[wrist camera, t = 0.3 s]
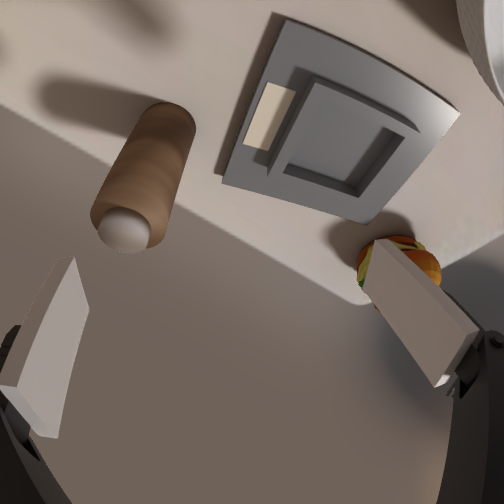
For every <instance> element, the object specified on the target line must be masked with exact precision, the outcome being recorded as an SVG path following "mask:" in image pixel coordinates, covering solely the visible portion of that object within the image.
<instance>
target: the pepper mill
mask: <svg viewBox="0 0 504 504" xmlns="http://www.w3.org/2000/svg"><path fill="white" fill-rule="evenodd" d="M195 133H196V125H195V121H194V119H193V117H192V116H191V114H190V113H189V112H188V111H187V110H186V109H184V108H183V107H181V106H179V105H176V104H173V103H158V104H155V105H153V106H151V107H149V108H148V109H147V110H146V111H145V112H144V113H143V115H142V116H141V118H140V120H139V121H138V123H137V125H136V126H135V128H134V129H133V131H132V133H131V134H130V136H129V138H128V139H127V141H126V143H125V145H124V146H123V148H122V150H121V152H120V153H119V155H118V157H117V159H116V161H115V162H114V164H113V166H112V168H111V170H110V172H109V174H108V176H107V177H106V180H105V181H104V183H103V185H102V187H101V189H100V191H99V193H98V195H97V198H96V200H95V201H94V204H93V206H92V208H91V211H90V217H91V221H92V223H93V225H94V227H95V228H96V229H97V231H98V234H99V237H100V238H101V240H102V241H103V242H104V243H105V244H106V245H108V246H109V247H111V248H113V249H115V250H117V251H120V252H124V253H138V252H141V251H143V250H144V249H146V248H151V247H154V246H156V245H158V244H159V243H160V242H161V241H162V240H163V238H164V236H165V232H166V228H167V225H168V221H169V217H170V214H171V210H172V207H173V203H174V200H175V197H176V193H177V190H178V186H179V183H180V180H181V177H182V173H183V170H184V167H185V164H186V161H187V157H188V154H189V151H190V148H191V145H192V142H193V139H194V136H195Z"/></svg>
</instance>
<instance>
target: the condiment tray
mask: <svg viewBox="0 0 504 504" xmlns="http://www.w3.org/2000/svg"><path fill="white" fill-rule="evenodd" d="M459 115H460V113H459V111H458V110H457V109H456V108H455V107H454V106H452V105H451V104H450V103H448V102H447V101H445V100H444V99H443V98H441V97H440V96H438V95H437V94H435V93H434V92H432V91H431V90H430V89H428V88H427V87H425V86H423V85H422V84H420V83H419V82H417V81H416V80H414V79H412V78H411V77H409V76H408V75H406V74H404V73H403V72H401V71H399V70H398V69H396V68H394V67H392V66H391V65H389V64H387V63H385V62H383V61H382V60H380V59H378V58H376V57H374V56H372V55H370V54H368V53H367V52H365V51H363V50H361V49H359V48H357V47H354V46H352V45H350V44H348V43H346V42H344V41H342V40H340V39H337V38H335V37H333V36H331V35H328V34H326V33H323V32H321V31H319V30H316V29H314V28H311V27H309V26H306V25H303V24H301V23H298V22H295V21H293V20H290V19H287V18H285V20H284V22H283V25H282V27H281V29H280V31H279V34H278V36H277V38H276V41H275V43H274V45H273V48H272V50H271V53H270V55H269V57H268V60H267V62H266V65H265V67H264V69H263V72H262V74H261V77H260V79H259V82H258V84H257V87H256V89H255V92H254V94H253V97H252V99H251V102H250V104H249V107H248V110H247V112H246V115H245V117H244V120H243V123H242V125H241V128H240V131H239V133H238V136H237V139H236V141H235V144H234V147H233V150H232V152H231V155H230V158H229V161H228V163H227V166H226V169H225V172H224V175H223V178H222V184H225V185H229V186H233V187H237V188H241V189H245V190H248V191H252V192H256V193H260V194H263V195H267V196H271V197H274V198H278V199H281V200H285V201H288V202H292V203H295V204H299V205H302V206H306V207H309V208H313V209H316V210H319V211H323V212H326V213H329V214H332V215H336V216H339V217H342V218H345V219H349V220H352V221H355V222H358V223H361V224H364V225H368V224H369V223H370V222H371V221H372V220H373V218H374V217H375V216H376V215H377V214H378V213H379V212H380V211H381V209H382V208H383V207H384V206H385V205H386V204H387V203H388V201H389V200H390V199H391V198H392V197H393V196H394V195H395V193H396V192H397V191H398V190H399V189H400V188H401V187H402V185H403V184H404V183H405V182H406V181H407V179H408V178H409V177H410V176H411V175H412V174H413V172H414V171H415V170H416V169H417V168H418V166H419V165H420V164H421V163H422V162H423V160H424V159H425V158H426V157H427V155H428V154H429V153H430V152H431V151H432V149H433V148H434V147H435V146H436V144H437V143H438V142H439V141H440V139H441V138H442V137H443V136H444V134H445V133H446V132H447V130H448V129H449V128H450V127H451V125H452V124H453V123H454V121H455V120H456V119H457V118H458V116H459Z"/></svg>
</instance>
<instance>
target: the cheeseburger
mask: <svg viewBox="0 0 504 504" xmlns="http://www.w3.org/2000/svg"><path fill="white" fill-rule="evenodd" d="M381 239H388V240H390V241H391V242H392V243H393V244H394V245H395V246H396V247H397V248H399V249H400V250H401V251H402V252H403V253H404V254H405V255H406V256H407V257H408V258H409V259H410V260H412V261H413V262H414V263H415V264H416V265H417V266H418V267H419V268H420V269H421V270H422V271H423V272H424V273H425V274H426V275H427V276H428V277H429V278H430V279H431V280H432V281H433V282H434V283H435V284H436V285H437V286H438V287H439V284H440V282H441V268H440V265H439V262H438V260H437V259H436V258H435V256H434V255H433V254H431V253H429V252H428V251H426V249H425V247H424V246H423V245H422V244H421V243H420V242H416V241H415V240H413V239H411V238H410V237H403V236H391V237H384V238H381ZM374 242H375V241H373V242H371V243H370V244H369V245H367V246H366V247H365V248H364V249H363V250H362V251H361V253H360V255H359V257H358V259H357V282H358V283H359V284H358V285H359V286H360V287H361V289H362V288H363V285H364V281H365V277H366V274H367V270H368V266H369V262H370V258H371V254H372V250H373V246H374ZM362 290H363V289H362ZM363 292H364V293H366V292H365V291H364V290H363ZM373 304H374V303H373ZM374 306H375V304H374ZM375 308H376V309H377V310H378V311H379V309H378V308H377V307H376V306H375ZM379 312H380V311H379Z"/></svg>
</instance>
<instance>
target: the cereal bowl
mask: <svg viewBox="0 0 504 504" xmlns="http://www.w3.org/2000/svg"><path fill="white" fill-rule="evenodd" d="M456 4H457V11H458V17H459V23H460V27H461V31H462V36H463V38H464V41H465V44H466V47H467V49H468V51H469V55H470V56H471V58H472V60H473V63H474V65H475V66H476V68H477V69H478V72H479V74H480V75H481V76H482V78H483V80H484V82H485V83H486V84H487V85H488V87H489V88H490V90H491V91H492V92H493V93H494V94H495V96H496V97H497V99H498V100H499V101H501V103H502V104H503V106H504V0H456Z"/></svg>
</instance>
